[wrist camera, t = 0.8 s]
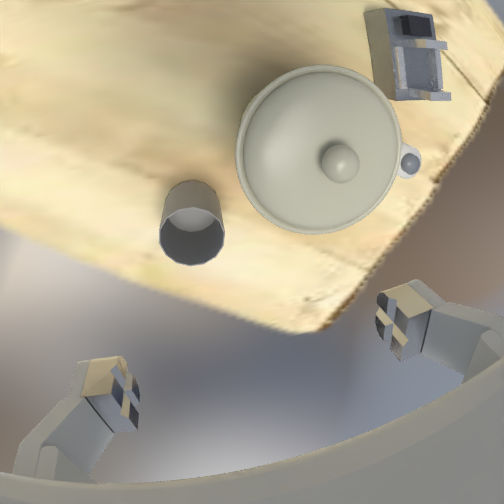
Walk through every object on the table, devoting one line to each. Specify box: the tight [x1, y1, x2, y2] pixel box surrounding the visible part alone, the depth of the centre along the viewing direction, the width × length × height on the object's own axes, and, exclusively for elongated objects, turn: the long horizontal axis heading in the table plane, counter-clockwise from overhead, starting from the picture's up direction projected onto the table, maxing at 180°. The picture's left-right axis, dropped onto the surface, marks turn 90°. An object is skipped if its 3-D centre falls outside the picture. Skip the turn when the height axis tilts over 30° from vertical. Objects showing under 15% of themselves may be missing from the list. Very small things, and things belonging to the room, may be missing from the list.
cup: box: [159, 180, 225, 266], centre depth 43 cm, size 8×8×10 cm
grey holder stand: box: [364, 8, 451, 101], centre depth 34 cm, size 14×9×11 cm, turn 10°
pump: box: [397, 142, 421, 179], centre depth 43 cm, size 5×5×9 cm
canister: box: [235, 65, 402, 235], centre depth 34 cm, size 18×18×21 cm
